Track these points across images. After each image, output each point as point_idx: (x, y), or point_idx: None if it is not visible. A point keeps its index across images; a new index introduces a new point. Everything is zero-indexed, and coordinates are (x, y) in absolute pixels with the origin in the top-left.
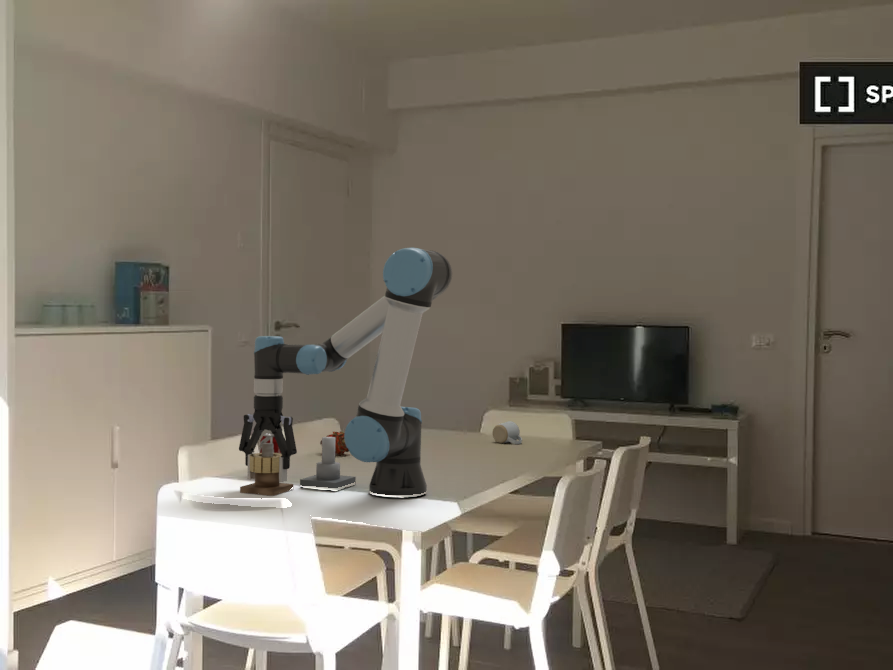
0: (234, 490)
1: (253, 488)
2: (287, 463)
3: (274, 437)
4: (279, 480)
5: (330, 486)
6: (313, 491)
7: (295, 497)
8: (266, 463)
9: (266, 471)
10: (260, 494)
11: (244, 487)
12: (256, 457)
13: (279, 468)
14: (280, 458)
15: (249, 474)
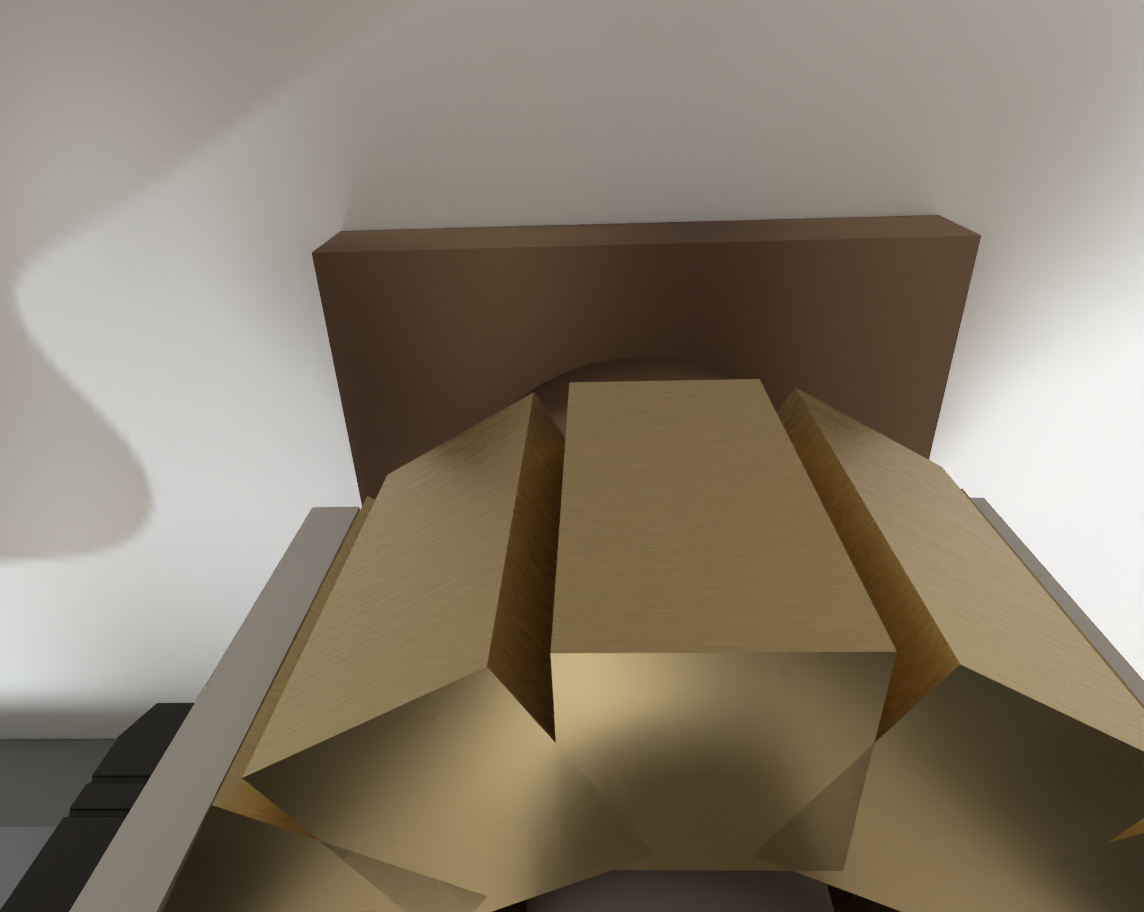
0: (1091, 323)
1: (700, 242)
2: (75, 830)
3: None
4: (342, 522)
5: (14, 784)
6: (180, 680)
7: (23, 305)
8: (407, 573)
9: (450, 454)
10: (560, 226)
11: (886, 234)
12: (799, 646)
13: (264, 672)
14: (121, 905)
15: None
